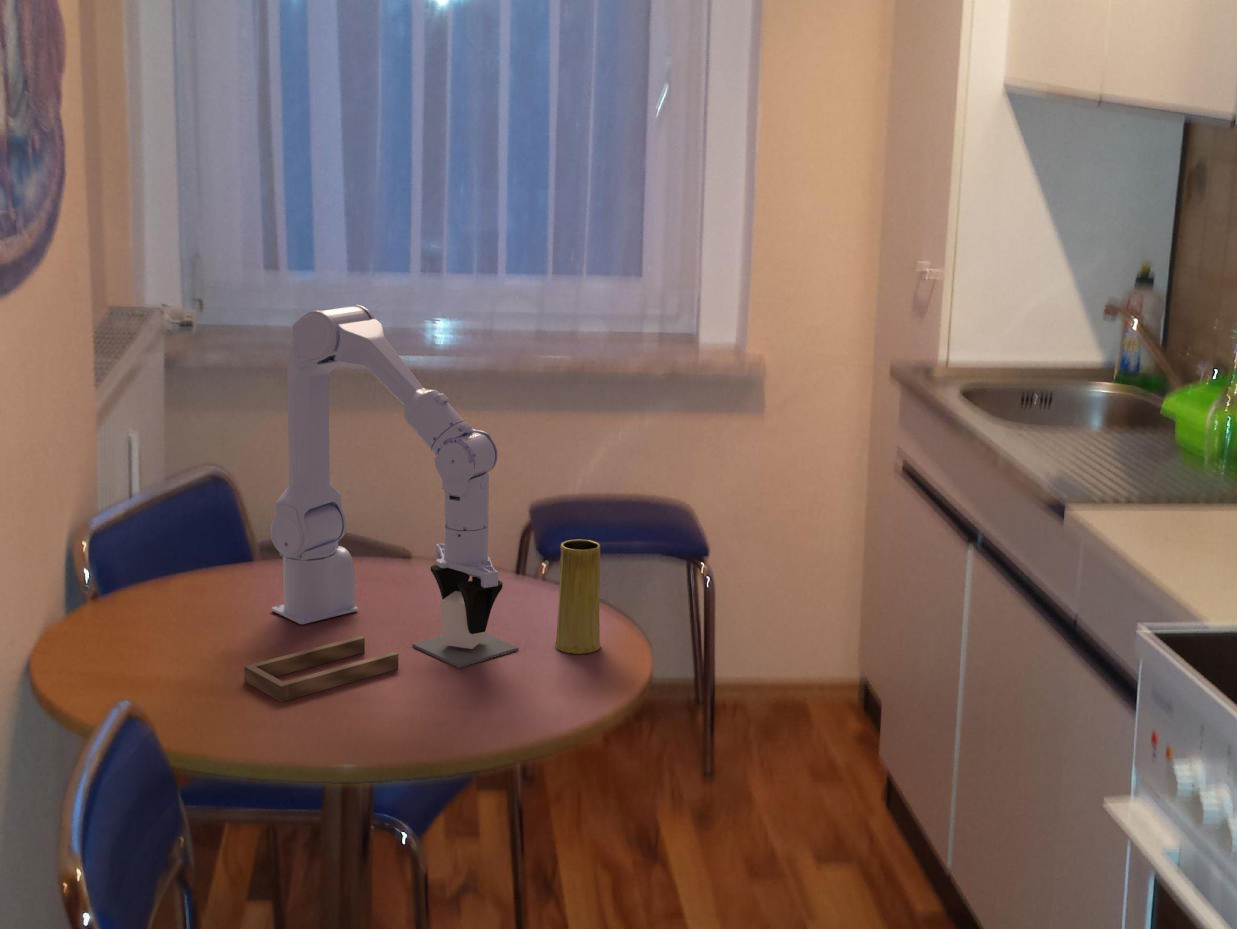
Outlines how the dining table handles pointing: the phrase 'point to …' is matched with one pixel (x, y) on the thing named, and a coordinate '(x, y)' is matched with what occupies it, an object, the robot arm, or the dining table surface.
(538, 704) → the dining table surface
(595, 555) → the vase
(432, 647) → the slate mat
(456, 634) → the white block
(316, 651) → the walnut channel
